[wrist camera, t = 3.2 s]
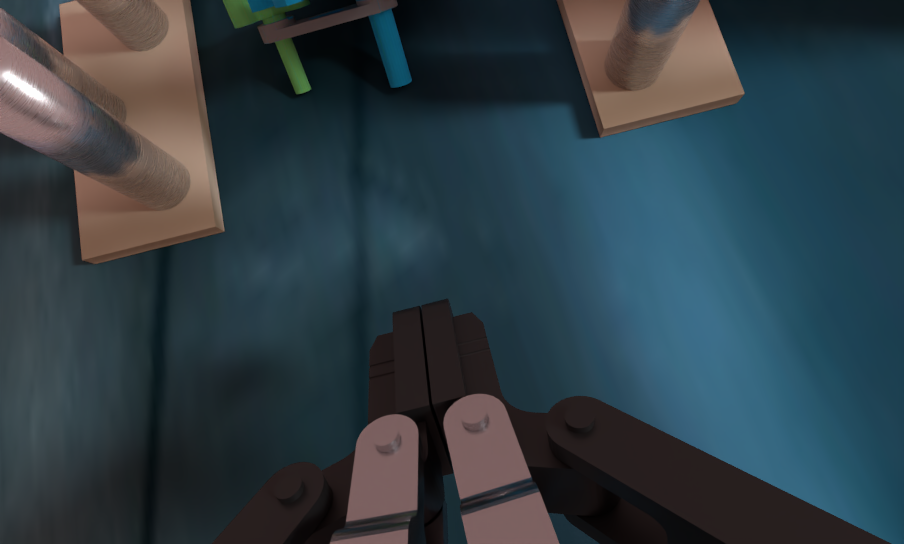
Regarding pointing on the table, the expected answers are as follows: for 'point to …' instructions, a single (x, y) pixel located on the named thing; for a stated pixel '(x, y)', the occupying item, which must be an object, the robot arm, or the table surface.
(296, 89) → the gear
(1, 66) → the spacers
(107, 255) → the rack
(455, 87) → the table surface
